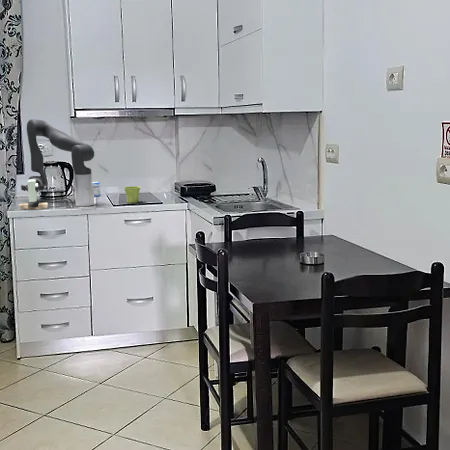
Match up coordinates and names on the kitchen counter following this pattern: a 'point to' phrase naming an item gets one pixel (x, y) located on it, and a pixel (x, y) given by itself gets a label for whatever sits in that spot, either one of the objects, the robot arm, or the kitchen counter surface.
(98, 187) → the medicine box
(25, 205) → the slot board
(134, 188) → the plant pot
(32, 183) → the tall mint green pillar
